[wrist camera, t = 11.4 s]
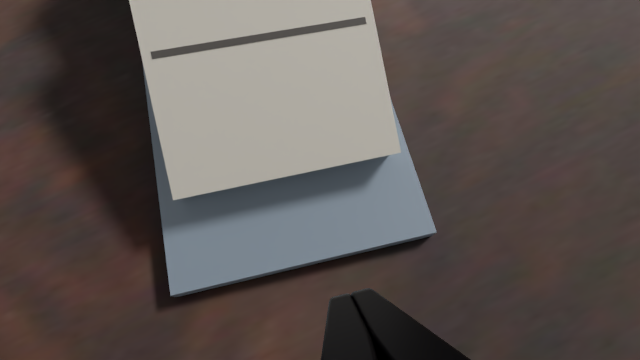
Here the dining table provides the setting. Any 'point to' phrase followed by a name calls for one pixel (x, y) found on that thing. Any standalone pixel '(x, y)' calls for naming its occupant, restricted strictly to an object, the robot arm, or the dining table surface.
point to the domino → (263, 88)
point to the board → (287, 219)
